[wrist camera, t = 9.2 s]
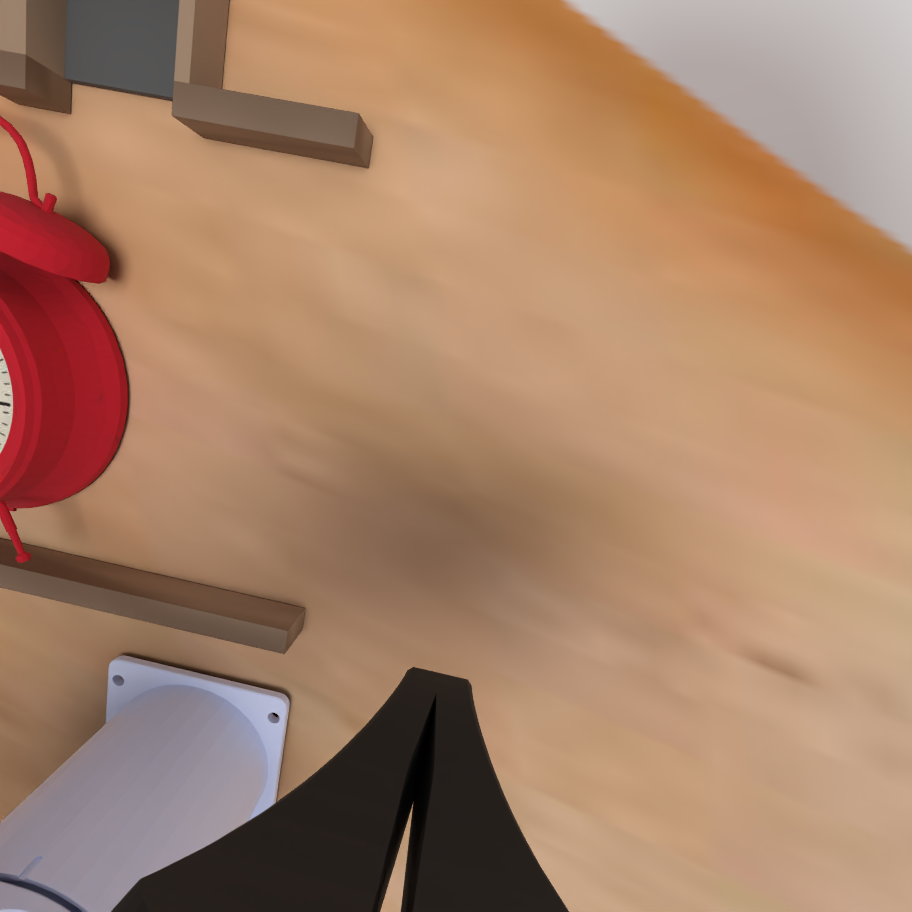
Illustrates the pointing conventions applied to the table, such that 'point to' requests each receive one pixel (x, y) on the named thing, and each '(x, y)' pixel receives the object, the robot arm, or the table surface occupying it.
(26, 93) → the wall
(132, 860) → the robot arm
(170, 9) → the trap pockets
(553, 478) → the table surface
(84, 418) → the alarm clock
